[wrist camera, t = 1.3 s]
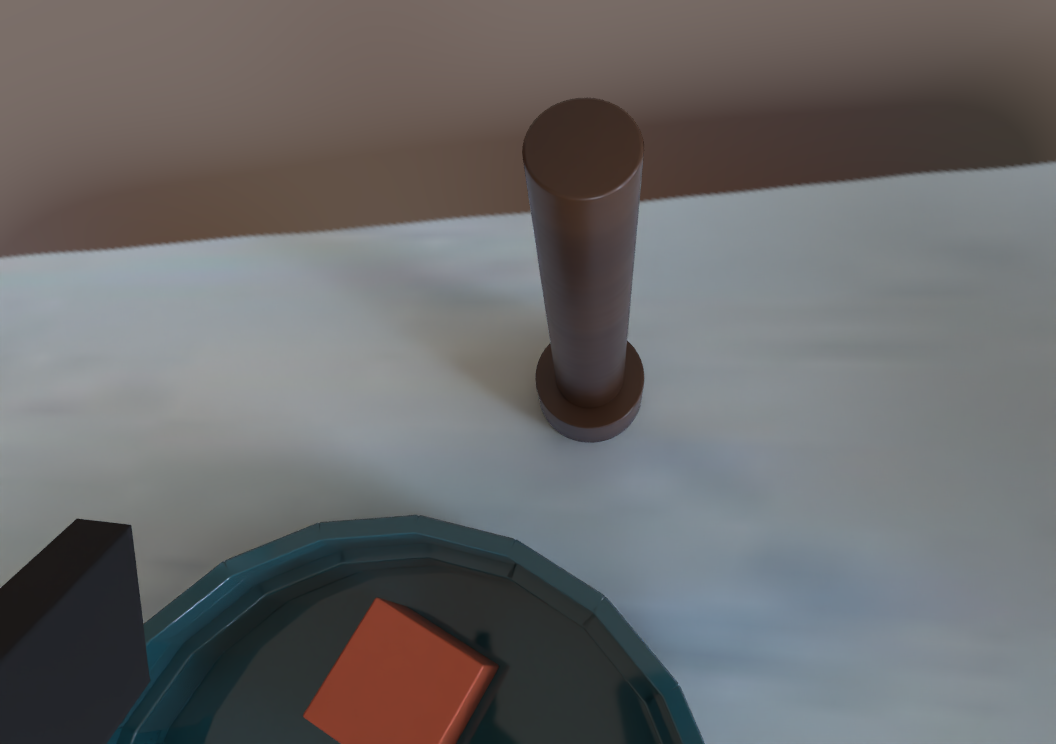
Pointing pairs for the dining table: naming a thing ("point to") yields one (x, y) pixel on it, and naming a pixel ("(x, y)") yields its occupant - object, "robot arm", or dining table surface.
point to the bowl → (426, 588)
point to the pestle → (586, 263)
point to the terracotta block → (400, 682)
